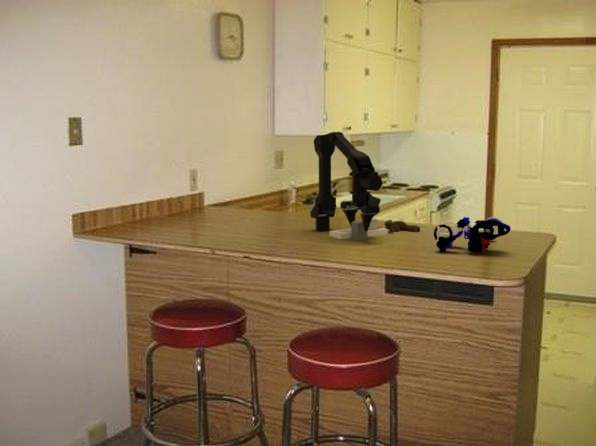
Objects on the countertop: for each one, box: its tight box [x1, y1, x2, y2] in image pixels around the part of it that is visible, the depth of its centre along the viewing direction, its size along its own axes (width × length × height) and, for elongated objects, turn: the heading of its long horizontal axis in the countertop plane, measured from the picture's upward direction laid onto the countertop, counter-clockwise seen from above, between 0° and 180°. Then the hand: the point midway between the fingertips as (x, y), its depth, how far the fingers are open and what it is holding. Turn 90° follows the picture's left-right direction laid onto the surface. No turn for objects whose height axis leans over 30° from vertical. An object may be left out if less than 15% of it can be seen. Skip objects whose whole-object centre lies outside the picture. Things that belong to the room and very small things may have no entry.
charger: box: [350, 220, 368, 242], centre depth 260 cm, size 4×4×7 cm
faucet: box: [384, 219, 421, 235], centre depth 279 cm, size 5×17×15 cm
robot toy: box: [433, 216, 511, 253], centre depth 240 cm, size 16×12×25 cm
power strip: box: [329, 225, 389, 240], centre depth 270 cm, size 22×8×4 cm, turn 118°
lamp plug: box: [368, 217, 378, 230], centre depth 272 cm, size 4×4×6 cm
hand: (359, 229), depth 260 cm, fingers open, 9 cm apart
